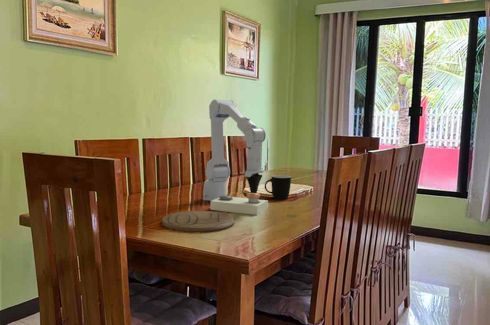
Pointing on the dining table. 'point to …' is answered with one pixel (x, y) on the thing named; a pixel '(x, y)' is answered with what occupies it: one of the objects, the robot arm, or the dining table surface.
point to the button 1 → (226, 197)
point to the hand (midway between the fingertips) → (253, 192)
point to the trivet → (198, 221)
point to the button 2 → (253, 197)
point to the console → (239, 206)
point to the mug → (280, 186)
